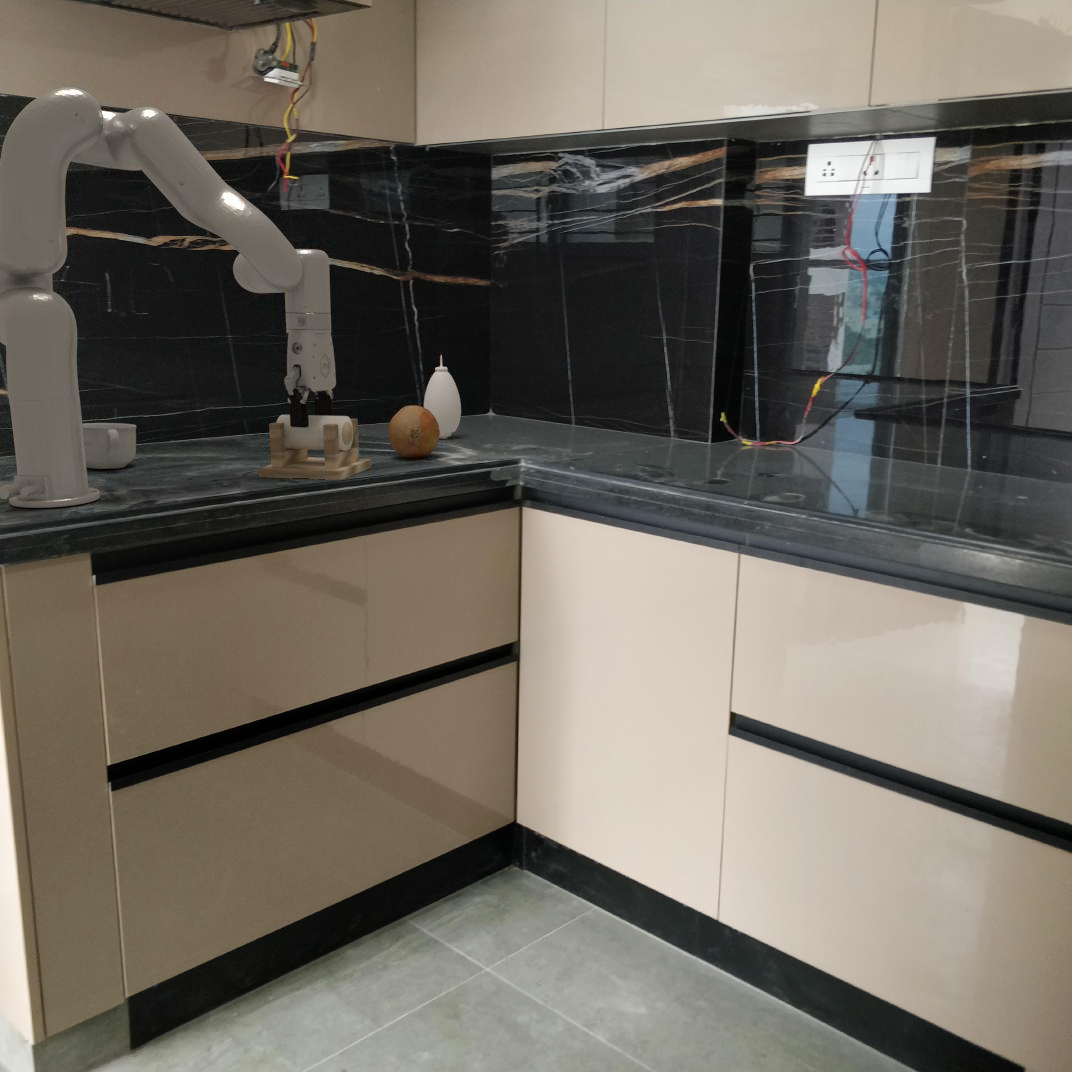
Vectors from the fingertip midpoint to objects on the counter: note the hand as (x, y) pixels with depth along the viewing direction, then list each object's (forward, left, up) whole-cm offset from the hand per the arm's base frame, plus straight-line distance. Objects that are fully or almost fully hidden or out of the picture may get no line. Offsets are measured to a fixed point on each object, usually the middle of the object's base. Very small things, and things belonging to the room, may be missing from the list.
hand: (312, 424), depth 185 cm
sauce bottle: (+49, -7, -9) cm, 51 cm away
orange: (+20, -11, -9) cm, 25 cm away
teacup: (-4, +39, -9) cm, 40 cm away
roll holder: (0, 0, -9) cm, 9 cm away
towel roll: (0, 0, -2) cm, 2 cm away
